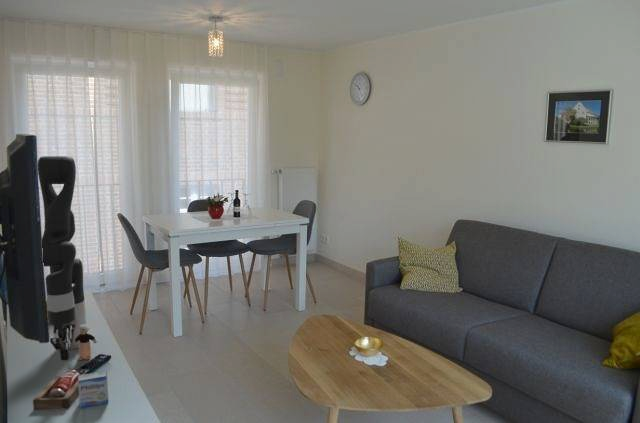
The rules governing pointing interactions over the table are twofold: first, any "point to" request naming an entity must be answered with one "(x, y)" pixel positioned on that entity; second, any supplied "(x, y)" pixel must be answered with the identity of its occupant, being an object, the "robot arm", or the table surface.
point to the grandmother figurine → (84, 342)
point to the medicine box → (93, 389)
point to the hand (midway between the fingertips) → (65, 359)
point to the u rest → (55, 403)
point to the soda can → (64, 384)
